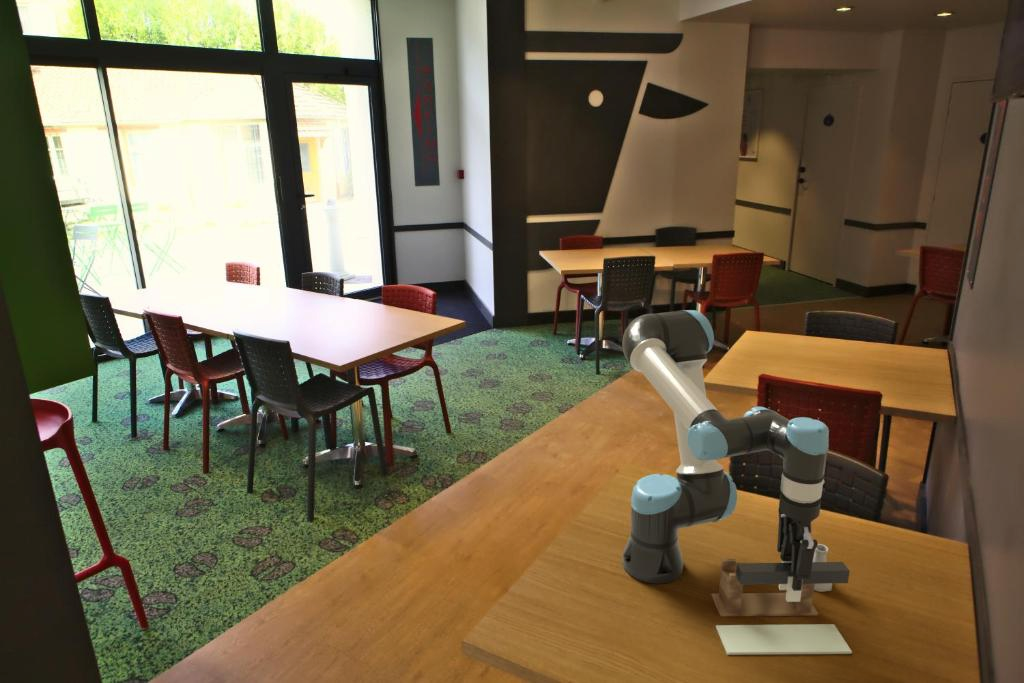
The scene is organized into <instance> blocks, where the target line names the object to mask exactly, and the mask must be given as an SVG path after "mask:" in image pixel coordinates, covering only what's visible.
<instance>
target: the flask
mask: <svg viewBox="0 0 1024 683" xmlns="http://www.w3.org/2000/svg"><path fill="white" fill-rule="evenodd" d="M828 553H829V547H828V546H826V545H825V544H823V543H818V545H817V547H816V549H815V552H814V557H813V562H828V561H827V555H828ZM832 589H833V583H825V584H815V586H814V592H815V591H816V592H820V593H821V592H831V591H832Z"/></svg>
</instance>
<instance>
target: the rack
mask: <svg viewBox="0 0 1024 683" xmlns="http://www.w3.org/2000/svg"><path fill="white" fill-rule="evenodd" d="M791 561H792V560H791ZM720 565H721V566H720V567H721V568H720V577H719V578H720V579H719V588H718V593H711V597H712V599H713V601H714V602H713V603H714V604H715V607H716V609H717V611H718V614H719V616H720V617H776V616H777V617H780V616H781V617H785V616H786V617H787V616H789V617H790V616H792V617H793V616H799V617H800V616H801V617H804V616H805V617H806V616H807V617H808V616H810V617H811V616H819V612H818V611H817V609H816V607H815V606H814V604H813V599H814V592H815V590H814V586H815V584H802V590H801V599H800V602H787V601H786V592H753V593H752V592H747V593H745V592H743V590H744V589H743V588H744V585H740V583H739V581H738V579H737V577H736V568H737V560H736V558H722V559H721V564H720Z"/></svg>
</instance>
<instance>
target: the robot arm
mask: <svg viewBox="0 0 1024 683" xmlns="http://www.w3.org/2000/svg"><path fill="white" fill-rule="evenodd" d="M714 341H715V335H714V330H713V327H712V324H711V323H710V321H709V319H708V318H707V317H706V316H705V315H704V314H703V313H702V312H700V311H698V310H694V309H693V310H692V309H689V310H684V309H682V310H676V311H675V310H674V311H668V312H667V311H666V312H659V313H658V312H657V313H656V312H655V313H645V314H642V315H640V316H637V317H636V318H634V319H633V320H632V321H631V322H630V323H629V324H628V326H627V327H626V328H625V330H624V333H623V335H622V341H621V342H622V345H621V346H622V351H623V352H622V353H623V355H624V358H625V359H626V361H627V362H628V364H629V365H630V366H631V367H632V368H633V370H635V371H637V372H639V373H642V375H643V376H644V377H645V378H646V379H647V381H648V382H649V383H650V385H651V386H652V387H653V388H654V389H655V391H656V392H657V393H658V394H659V396H660V397H661V398H662V399H663V400H664V402H665V403H666V404H667V405H668V407H669V408H670V409H671V410H672V412H673V416H674V423H675V430H676V438H677V445H678V452H679V458H680V465H679V466H678V468H676V470H675V473H676V474H675V475H676V477H674V476H672V475H668V474H666V473H665V474H663V475H661V473H655V474H648V475H646V476H644V477H640V479H639V480H637V481H636V483H635V484H634V486H633V488H632V493H631V494H632V495H631V498H630V505H631V511H630V514H631V515H630V535H629V538H628V539H627V542H626V544H625V546H624V549H623V552H622V559H621V560H622V561H621V562H622V566H623V568H624V570H625V572H627V573H628V575H630V576H631V577H632V578H634V579H636V580H638V581H642V582H645V583H649V584H655V585H656V584H657V585H660V584H668V583H671V582H674V581H675V580H677V579H678V578H680V576H681V575H682V574H683V569H684V559H683V555H682V554H683V553H682V551H681V547H680V544H679V541H678V539H679V537H678V536H679V530H680V529H684V528H689V527H693V526H698V525H703V524H707V523H717V522H718V521H720V520H725V519H727V518H729V517H731V515H732V514H733V512H735V510H736V506H737V502H738V491H737V486H736V483H735V482H733V481H734V480H733V478H732V476H731V475H730V474H728V472H726V471H724V466H723V465H722V464H720V463H719V462H718V461H717V460H722V459H726V458H731V457H736V456H740V455H747V454H753V453H759V452H763V451H769V452H771V453H772V454H774V455H776V456H777V457H779V458H781V459H783V464H782V465H783V467H782V472H781V480H780V494H779V501H778V502H779V503H778V510H777V511H778V531H777V546H776V551H777V553H780V555H779V557H780V560H781V562H780V563H790V562H791V572H787V574H788V582H787V584H778V589H779V591H786V592H785V593H786V601H787V602H800V599H801V590H802V582H803V579H810V574H811V568H812V563H813V557H814V553H815V549H816V547H817V545H818V544H819V543H818V539H813V538H812V536H811V533H812V522H813V521H814V520H816V519H817V518H818V517H819V516H820V513H821V512H820V511H821V507H822V506H821V505H822V504H821V503H822V499H821V498H822V494H823V485H824V484H825V470H826V463H827V457H828V451H829V448H830V445H829V444H830V443H829V436H830V435H829V433H830V430H829V427H828V426H827V425H826V423H825V422H822V421H820V420H818V419H813V418H811V417H805V416H804V417H803V416H801V417H795V418H792V419H788V418H787V417H785V416H783V415H781V414H779V413H778V412H776V411H775V410H772V409H769V408H766V407H764V406H755V407H754V406H753V407H752V408H750V409H749V410H748V411H746V412H745V413H744V414H743V416H741V417H735V418H729V419H728V418H726V417H725V416H724V415H723V414H722V413H721V412H720V411H719V409H717V407H716V406H715V405H714V404H713V403H712V402H711V401H710V400H709V399H708V397H707V392H706V386H705V378H704V371H703V366H704V365H705V364H706V362H707V361H708V356H707V354H708V353H709V352H710V351H711V350H712V348H713V346H714ZM791 560H792V561H791Z"/></svg>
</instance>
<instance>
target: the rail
mask: <svg viewBox="0 0 1024 683" xmlns="http://www.w3.org/2000/svg"><path fill="white" fill-rule="evenodd" d="M735 571H736V577H737V579H738V581H739V583H740V585H743V586H744V585H748V586H749V585H779V584H787V582H788V574H787V572H791V562H790V563H781V562H745V563H744V562H743V563H741V562H738V563H737V562H736V570H735ZM849 576H850V569H849V568H848V567H847V566H846V564H845V563H844V562H843V561H827V562H813V563H812V568H811V574H810V579H803V582H802V584H825V583H832V584H849Z"/></svg>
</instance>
